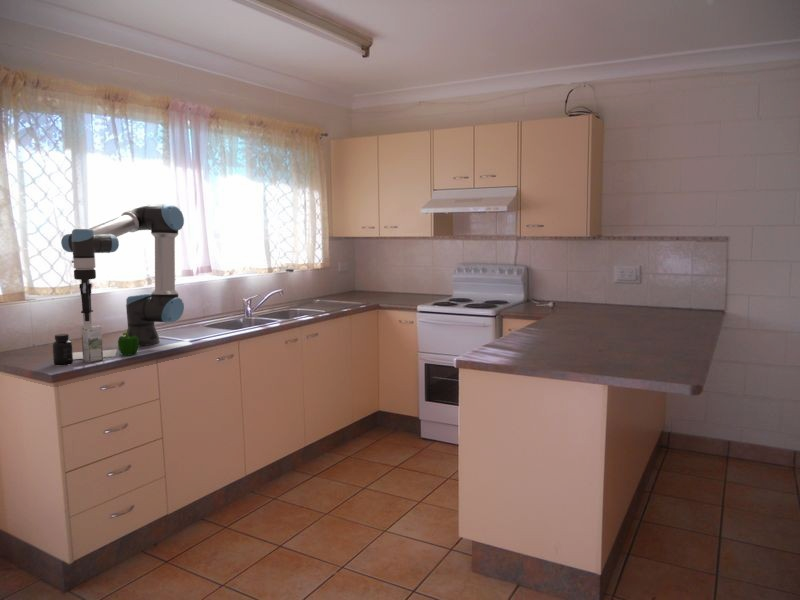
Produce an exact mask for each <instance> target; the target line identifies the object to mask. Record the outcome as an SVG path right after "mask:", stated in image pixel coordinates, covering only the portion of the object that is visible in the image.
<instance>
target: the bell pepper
mask: <svg viewBox="0 0 800 600" xmlns="http://www.w3.org/2000/svg"><path fill="white" fill-rule="evenodd" d="M126 332H127V331H126ZM126 332H123V333H122V335H123V336H119V337H118V340H117V343H118V344H117V347H118V350H119V352H120V354H121V355H122V356H127V357H129V356H131V355H133V354H134V355H136V354H137V353H138V350H139V347H140V346H139V339H138V338H137V336H129V335H128V333H126ZM134 355H133V356H134Z"/></svg>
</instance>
